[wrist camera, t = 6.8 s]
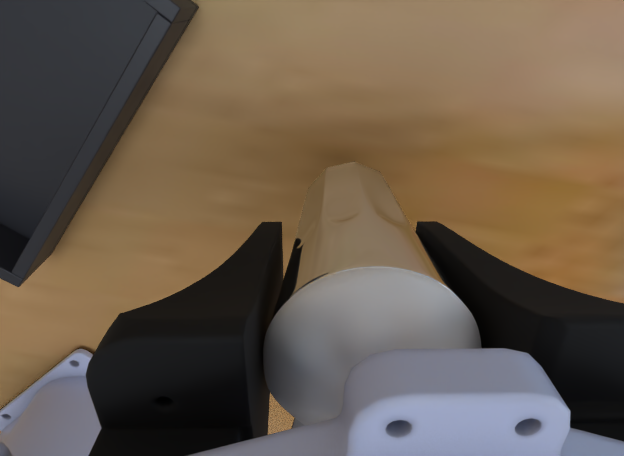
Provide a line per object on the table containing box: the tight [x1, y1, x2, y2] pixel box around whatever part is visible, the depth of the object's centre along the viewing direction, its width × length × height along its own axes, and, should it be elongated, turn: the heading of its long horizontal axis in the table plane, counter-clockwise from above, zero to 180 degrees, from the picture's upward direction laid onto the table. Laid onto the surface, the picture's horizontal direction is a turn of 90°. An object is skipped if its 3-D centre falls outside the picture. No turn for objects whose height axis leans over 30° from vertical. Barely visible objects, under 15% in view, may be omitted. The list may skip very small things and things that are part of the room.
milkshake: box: [263, 161, 482, 429], centre depth 12 cm, size 4×5×10 cm
